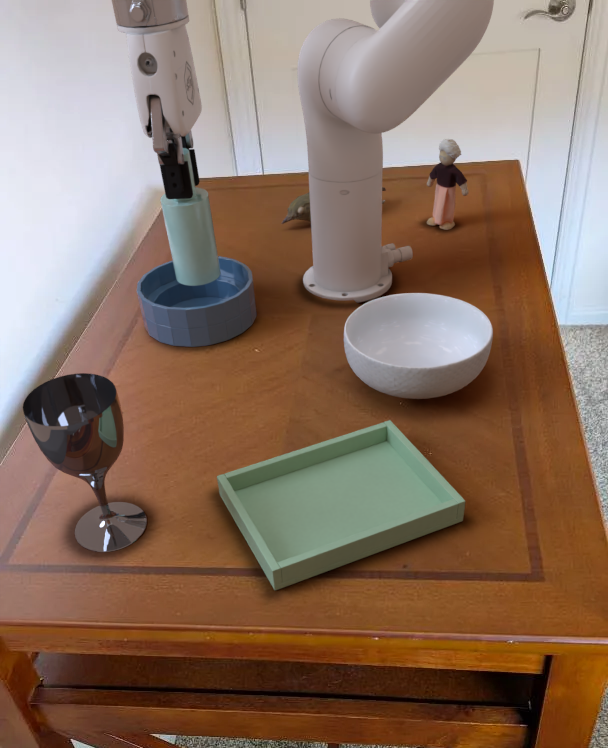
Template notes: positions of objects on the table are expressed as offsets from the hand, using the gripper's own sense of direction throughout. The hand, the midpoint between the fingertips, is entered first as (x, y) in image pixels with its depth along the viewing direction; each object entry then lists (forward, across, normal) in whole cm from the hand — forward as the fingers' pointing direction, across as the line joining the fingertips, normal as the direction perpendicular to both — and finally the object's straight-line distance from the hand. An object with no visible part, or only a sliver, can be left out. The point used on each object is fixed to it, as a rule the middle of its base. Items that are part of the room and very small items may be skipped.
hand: (183, 190), depth 92 cm
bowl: (+17, 0, +1) cm, 17 cm away
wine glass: (+17, -40, +2) cm, 44 cm away
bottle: (+11, 0, 0) cm, 11 cm away
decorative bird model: (+18, +34, -15) cm, 41 cm away
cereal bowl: (+18, -14, -28) cm, 36 cm away
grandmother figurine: (+18, +30, -32) cm, 48 cm away
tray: (+17, -37, -20) cm, 45 cm away
